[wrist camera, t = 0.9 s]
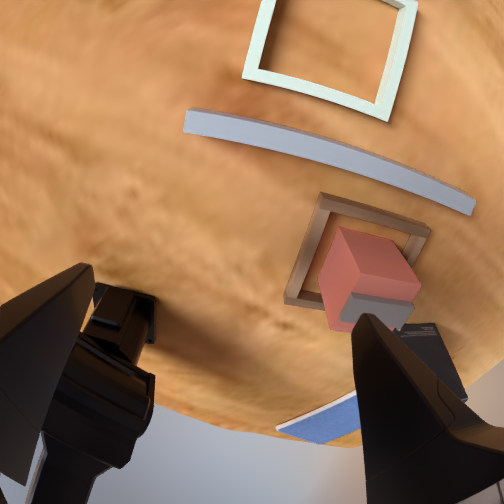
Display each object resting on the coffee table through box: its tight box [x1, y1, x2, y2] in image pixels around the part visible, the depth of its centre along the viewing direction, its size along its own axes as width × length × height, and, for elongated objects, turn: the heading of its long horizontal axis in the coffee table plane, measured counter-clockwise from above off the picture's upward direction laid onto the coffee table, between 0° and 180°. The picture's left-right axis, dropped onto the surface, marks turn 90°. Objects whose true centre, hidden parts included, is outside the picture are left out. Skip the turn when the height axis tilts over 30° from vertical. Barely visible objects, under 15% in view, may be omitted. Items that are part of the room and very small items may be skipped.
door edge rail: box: [183, 108, 477, 216], centre depth 18 cm, size 1×22×2 cm, turn 77°
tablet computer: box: [276, 390, 361, 444], centre depth 38 cm, size 19×13×1 cm, turn 136°
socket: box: [242, 0, 418, 122], centre depth 14 cm, size 11×10×1 cm
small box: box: [392, 324, 468, 403], centre depth 26 cm, size 11×6×10 cm, turn 176°
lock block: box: [317, 227, 422, 333], centre depth 21 cm, size 5×5×7 cm
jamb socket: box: [283, 192, 431, 311], centre depth 23 cm, size 10×10×1 cm
